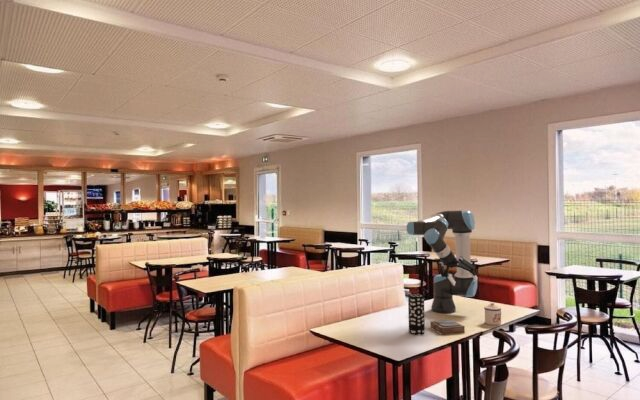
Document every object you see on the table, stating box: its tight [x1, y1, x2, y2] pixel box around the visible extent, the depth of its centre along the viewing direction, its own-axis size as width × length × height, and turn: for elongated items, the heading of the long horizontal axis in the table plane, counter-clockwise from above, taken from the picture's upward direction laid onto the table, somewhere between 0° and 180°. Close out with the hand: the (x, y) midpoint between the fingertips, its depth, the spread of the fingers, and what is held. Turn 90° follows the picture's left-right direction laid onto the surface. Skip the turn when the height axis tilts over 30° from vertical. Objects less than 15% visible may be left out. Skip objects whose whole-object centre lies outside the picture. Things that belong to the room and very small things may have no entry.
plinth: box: [430, 319, 466, 336], centre depth 231 cm, size 13×13×4 cm
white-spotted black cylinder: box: [407, 293, 426, 336], centre depth 227 cm, size 8×8×20 cm
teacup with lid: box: [483, 302, 502, 326], centre depth 244 cm, size 12×9×12 cm
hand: (465, 281), depth 233 cm, fingers open, 13 cm apart
